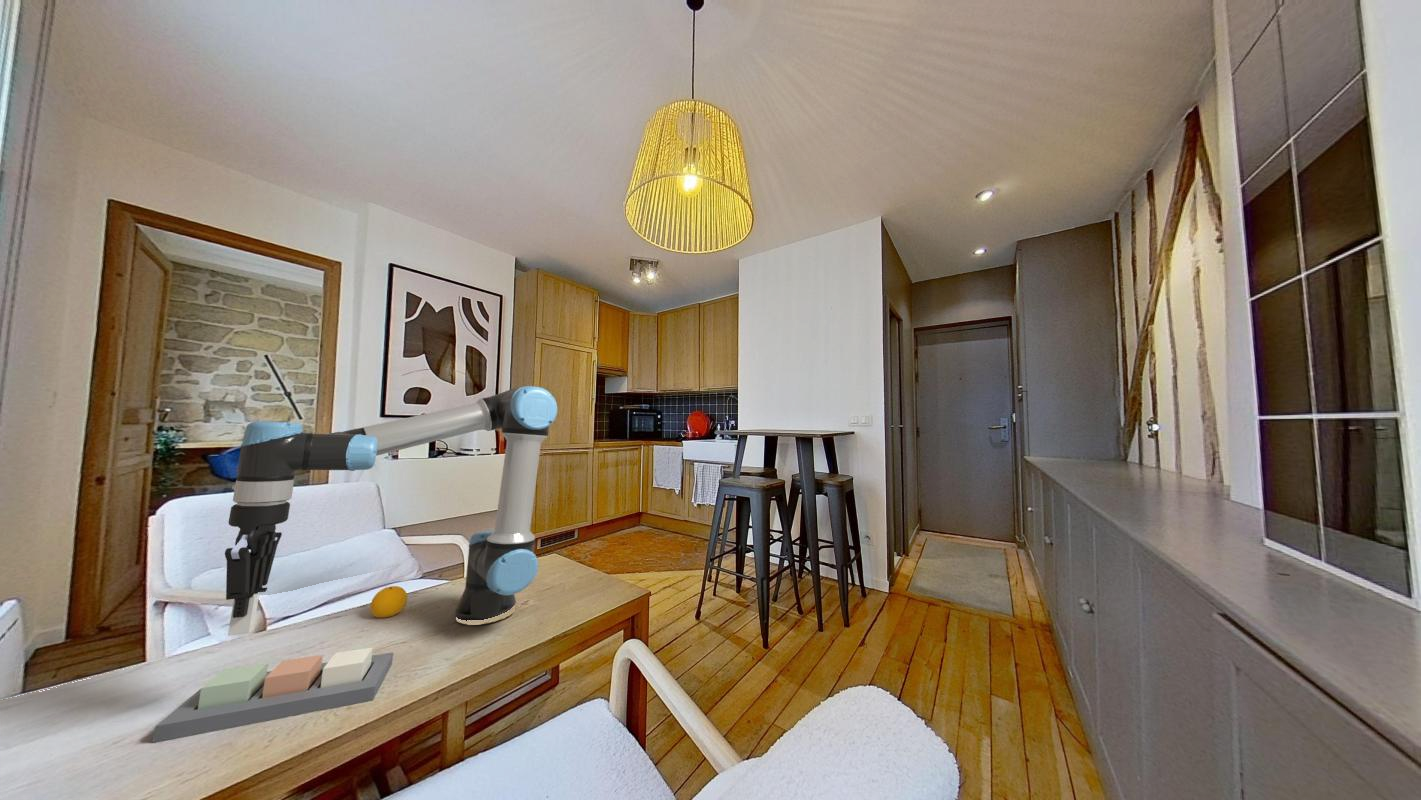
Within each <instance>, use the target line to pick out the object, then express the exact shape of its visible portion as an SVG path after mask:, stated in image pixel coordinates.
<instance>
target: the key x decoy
mask: <svg viewBox="0 0 1421 800" xmlns="http://www.w3.org/2000/svg"><path fill="white" fill-rule="evenodd" d="M323 656H324V654H320V655H319V654H318V655H313V656H306V657H299V658H291V659H285V660H281V661H280V662H279V663H278V664H277V665H276V666H275V667H274V668H273V669H272V670H271V671H272V672H271V673H270V674H269V675H268V676H267V677H266V678H265V682H264V689H263V695H262V698H266V697H272V696H277V695H283V694H289V693H295V692H300V691H306V690H309V689H310V688H311V687H312V685H311V684H312V683H313V682H314V681H315V679H316V678H317V677H318V676H319V674H320V673H321V665H322V663H323Z"/></svg>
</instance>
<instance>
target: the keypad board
mask: <svg viewBox="0 0 1421 800" xmlns="http://www.w3.org/2000/svg"><path fill="white" fill-rule="evenodd" d="M393 659H394V652H385V653H380V654H374V655H373V654H372V659H371V665H370V667H369V669H368V670H367V672H366V674H365V675H364V678H363V679H362V680H361V681H358V682H352V683H346V684H340V685H335V686H329V687H323V688H321V681H322V673H323V668H324V667H325V666H326V664H327V663H328V662H329V661H328V662H322V665H321V673H320V674H319V676H318V677H317V678H316V679H315V681H314V682H313V683H312V684H311V686H310V687H309V688H308V689H307V690H306V691H300V692H295V693H289V694H283V695H277V696H272V697H266V698H262V695H263V689H264V684H263V685H262V686H261V687H260V688H259V689H258V690H257V691H256V692H255V693H254V694H253V695H252V696H251V697H250V698H249V699H248V700H247V701H243V702H237V703H232V704H226V705H220V706H214V707H209V708H203V709H198V705H199V698H200V692H201V688H200V689H198V690H197V691H196V692H195V693H194V694H192V695H191V696H190V697H188V699H187V700H185V701H183V703H182V704H180V705H179V706H178V707H177V708H176V709H174V710H173V711H172V712H171V713H169V715H167V716H166V717H164V718H163V719H162V720H161V721H160V722H159V723H158V724H156V725H155V727H154V731H153V738H152V744H155V743H161V742H164V741H169V740H170V741H171V740H174V739H180V738H185V737H189V736H196V735H200V734H206V733H211V732H217V731H221V730H227V729H232V728H237V727H242V726H249V725H252V724H257V723H263V722H268V721H273V720H277V719H283V718H288V717H293V716H299V715H303V714H304V715H305V714H309V713H315V712H320V711H324V710H330V709H335V708H340V707H346V706H350V705H356V704H360V703H366V702H367V703H368V702H371V701H372V702H373V701H374V700H375V697H376V695H378V691H379V689H380V688H381V686H382V684H383V683H384V680H385V678H386V677H387V674H388V673H389V671H390V668H391V667H392V665H393ZM272 671H273V670H271V671H267V675H266V677H267V676H268V675H269V674H270V673H271V672H272Z"/></svg>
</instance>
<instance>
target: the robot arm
mask: <svg viewBox="0 0 1421 800" xmlns="http://www.w3.org/2000/svg"><path fill="white" fill-rule="evenodd" d="M557 404H558V403H557V401H556V399H555V397H554V396H553V395H552V393H551V392H550V391H548V390H546V389H545V388H543V387H540V386H533V385H531V386H530V385H529V386H528V385H526V386H522V387H518V388H512V389H509V390H505V391H503V392H501V393H496V394H495V395H494V394H493V395H491V396H487V397H483V398H482V397H481V398H479V399H478V400H477V401H476V403H471V404H467V405H462V406H457V407H452V408H448V409H443V410H438V411H434V412H429V413H423V414H419V415H415V416H410V417H405V418H401V419H396V420H391V421H387V422H383V423H382V422H381V423H378V424H377V423H376V424H372V425H367V426H363V427H359V428H358V427H357V428H354V429H348V430H344V431H336V432H330V433H312V432H311V433H310V432H304V429H303V424H301V423H299V422H286V421H285V422H284V421H283V422H282V421H270V420H269V421H266V420H256V421H252V422H250V423H248V424H247V425H246V426H245V429H244V435H243V439H242V442H241V445H240V453H239V459H238V464H237V465H238V466H237V472H236V480H235V484H233V485H232V487H231V489H232V490H233V497H232V501H233V502H234V503H235V504H233V505H232V506H231V507H230V512H229V517H228V521H227V522H228V525H229V526H230V527H234V528H235V527H237V528H239V531H238V533H237V536H236V538H235V543H234V547H227V548H225V551H224V557H225V560H226V583H225V584H226V585H225V586H226V587H225V588H226V589H225V590H226V591H225V600H233V602H232V607H231V615H230V621H229V627H228V634H227V636H237V635H245V634H246V635H247V634H250V633H252V631H254V627H255V623H256V622H255V621H256V616H257V609H258V604H259V603H258V602H259V598H260V597H259V596H260V593H265V592H267V591H268V587H265V586H266V585H268V583H269V578H270V575H271V570H272V567H273V563H274V560H275V556H276V552H277V548H278V544H279V542H280V540H281V537H282V535H283V534H282V533H283V532H280V531H279V532H276V531H277V530H276V529H277V525H278V524H283V523H285V522H286V521H288V519H289V514H290V510H291V509H290V508H291V503H290V502H289V500H291V499H292V497H293V492H294V491H293V490H294V484H295V475H296V471H350V472H355V471H362V470H363V471H364V470H370V469H373V467H374V466H375V462H376V459H377V457H378V456H382V455H384V454H388V453H394V452H397V451H401V450H406V449H409V448H413V447H417V446H420V445H425V444H428V443H433V442H436V441H441V440H445V439H449V438H453V437H457V436H461V435H466V434H470V433H472V432H476V431H477V432H478V431H481V430H485V431H487V432H490V431H494V430H500V429H501V435H502V436H503V437H504V438H505V440H506V445H505V451H504V453H505V454H504V459H503V466H502V474H501V481H500V488H499V497H498V504H497V511H496V518H495V526H494V529H493V530H483V531H479V532H475V533H473V534H472V535H471V536H470V539H469V544H468V555H467V556H468V557H467V566H466V567H467V568H466V578H465V587H464V591H463V592H462V595H461V596H460V600H459V601H458V604H457V606H456V609H455V614H454V617H455V616H456V617H457V618H458V619H461V620H466V621H467V620H484V619H488V618H492V617H495V616H498V615H500V614H502V613H505V612H507V611H508V610H510V609H511V608H512V607H513V606H514V605H515V603H516V604H517V600H516V596H515V594H518V593H520V592H522V591H524V590H525V589H526V588H528V586H529V585H531V584H532V582H533V581H534V579H536V577H537V574H538V572H539V571H538V570H539V560H538V558H537V555H536V554H535V553H534V550H535V541H536V536H535V535H534V533H532V532H531V526H532V518H533V509H534V501H535V494H536V486H537V476H538V468H539V463H540V462H539V461H540V454H541V453H540V452H541V445H542V442H543V441H545V440H546V439H547V438H548V436H549V430H550V429H549V428H550V426H551V425H552V424H553V423H554V421H555V419H556V417H557V415H558V405H557Z"/></svg>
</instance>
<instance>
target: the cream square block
mask: <svg viewBox="0 0 1421 800" xmlns="http://www.w3.org/2000/svg"><path fill="white" fill-rule="evenodd" d="M373 650H374V647H367V648H361V649H359V648H358V649H354V650H353V649H352V650H346V651H345V650H344V651H339V652H335V653H334V655H333V656H332V657H331V658H330V659H329V661H328V663H327V662H326V663H327V664H326V666H325V667H324V668H323V673H322V681H321V688H323V687H329V686H335V685H340V684H346V683H352V682H358V681H363V680H364V678H365V676H364V675H365V674H366V672H367V670H368V669H369V667H370V665H371V659H372V655H373Z"/></svg>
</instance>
